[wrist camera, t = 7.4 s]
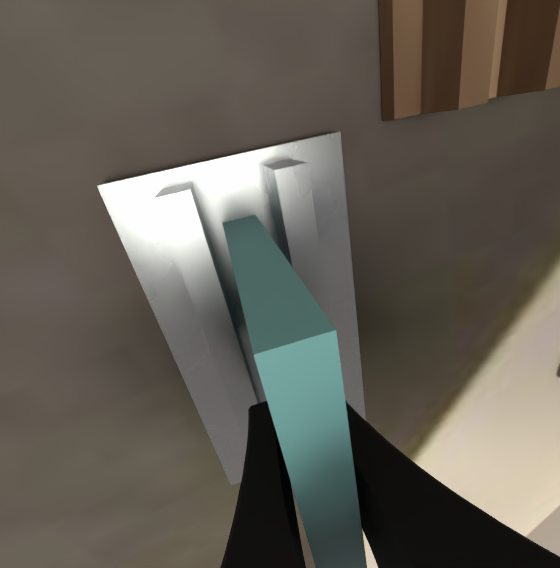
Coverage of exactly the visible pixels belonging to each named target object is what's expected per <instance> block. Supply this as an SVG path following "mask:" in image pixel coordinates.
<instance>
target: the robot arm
mask: <svg viewBox="0 0 560 568" xmlns="http://www.w3.org/2000/svg"><path fill="white" fill-rule="evenodd" d="M345 402H346V410H347V417H348V425H349V433H350V441H351V448H352V456H353V464H354V471H355V479H356V487H357V495H358V502H359V510H360V518H361V525H362V529H363V531H364V533H365V536H366V538H367V540H368V542H369V545H370V547H371V550H372V552H373V555H374V557H375V560H376V563H377V565H378V568H560V557H559V556H557V555H556V554H554V553H552V552H550V551H549V550H547V549H545V548H543V547H541V546H539V545H538V544H536V543H534V542H533V541H531V540H529V539H528V538H526V537H524V536H523V535H521V534H519V533H518V532H516V531H514V530H513V529H511V528H509V527H508V526H506V525H504V524H503V523H501V522H499V521H498V520H496V519H495V518H493V517H492V516H490V515H489V514H487V513H486V512H484V511H482V510H481V509H479V508H478V507H476V506H475V505H473V504H472V503H470V502H468V501H467V500H465V499H464V498H462V497H461V496H459V495H458V494H456V493H455V492H453V491H452V490H451V489H449V488H448V487H446V486H445V485H444V484H442V483H441V482H439V481H438V480H436V479H435V478H434V477H432V476H431V475H430V474H428V473H427V472H426V471H424V470H423V469H422V468H420V467H419V466H418V465H417V464H415V463H414V462H413V461H411V460H410V459H409V458H408V457H406V456H405V455H404V454H403V453H402V452H400V451H399V450H398V449H397V448H396V447H394V446H393V445H392V444H391V443H390V442H388V441H387V440H386V439H385V438H384V437H383V436H382V435H381V434H379V433H378V432H377V431H376V430H375V429H374V428H373V427H372V426H371V425H370V424H369V423H368V422H367V421H365V420H364V419H363V418H362V417H361V416H360V415H359V414H358V413H357V412H356V411H355V410H354V409H353V408H352V407H351V406H350V405H349V404H348V403H347V401H346V400H345ZM221 568H306V566H305V561H304V556H303V551H302V545H301V540H300V534H299V528H298V522H297V517H296V511H295V505H294V499H293V494H292V488H291V482H290V477H289V474H288V471H287V467H286V464H285V460H284V457H283V454H282V450H281V447H280V443H279V440H278V437H277V433H276V430H275V426H274V423H273V420H272V416H271V413H270V409H269V406H268V403H267V401H264V402H261V403H258V404H255V405H252V406H250V408H249V409H248V437H247V447H246V454H245V461H244V468H243V475H242V480H241V485H240V490H239V495H238V500H237V506H236V510H235V515H234V519H233V523H232V527H231V531H230V535H229V539H228V543H227V547H226V551H225V554H224V558H223V561H222V565H221Z"/></svg>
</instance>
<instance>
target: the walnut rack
mask: <svg viewBox="0 0 560 568" xmlns="http://www.w3.org/2000/svg"><path fill="white" fill-rule="evenodd" d="M379 24H380V56H381V87H382V118H383V121H385V120H395V119H399V118H404V117H408V116H413V115H417V114H423V113H431V112H440V111H449V110H457V109H462V108H467V107H471V106H476V105H480V104H485V103H488V99H489V98H494V97H499V96H506V95H513V94H520V93H527V92H534V91H541V90H547V89H552V88H556V87H560V0H379Z"/></svg>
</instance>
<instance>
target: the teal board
mask: <svg viewBox="0 0 560 568" xmlns="http://www.w3.org/2000/svg"><path fill="white" fill-rule="evenodd" d="M222 224H223V228H224V232H225V236H226V241H227V245H228V249H229V253H230V258H231V262H232V266H233V270H234V274H235V279H236V283H237V287H238V291H239V296H240V300H241V304H242V308H243V313H244V317H245V321H246V325H247V330H248V334H249V338H250V342H251V346H252V351H253V355H254V358H255V362H256V365H257V369H258V372H259V375H260V379H261V382H262V386H263V389H264V392H265V396H266V399H267V403H268V406H269V409H270V413H271V416H272V420H273V423H274V426H275V430H276V433H277V437H278V440H279V443H280V447H281V450H282V454H283V457H284V460H285V464H286V467H287V471H288V474H289V477H290V481H291V484H292V487H293V491H294V494H295V498H296V501H297V504H298V508H299V511H300V515H301V518H302V521H303V525H304V528H305V532H306V535H307V538H308V542H309V545H310V549H311V552H312V555H313V559H314V562H315V566H316V568H367V564H366V556H365V549H364V541H363V533H362V525H361V518H360V510H359V502H358V495H357V487H356V479H355V471H354V464H353V456H352V448H351V441H350V433H349V425H348V417H347V410H346V402H345V394H344V387H343V379H342V371H341V363H340V356H339V348H338V340H337V333H336V329H335V327H334V326H333V325H332V323H331V322H330V320H329V319H328V317H327V316H326V315H325V313H324V312H323V310H322V309H321V307H320V306H319V305H318V303H317V302H316V300H315V299H314V297H313V296H312V295H311V293H310V292H309V290H308V289H307V287H306V286H305V285H304V283H303V282H302V280H301V279H300V277H299V276H298V275H297V273H296V272H295V270H294V269H293V267H292V266H291V265H290V263H289V262H288V260H287V259H286V257H285V256H284V255H283V253H282V252H281V250H280V249H279V247H278V246H277V245H276V243H275V242H274V240H273V239H272V237H271V236H270V235H269V233H268V232H267V230H266V229H265V227H264V226H263V225H262V223H261V222H260V220H259V219H258V217H257V216H256V215H252V216H248V217H244V218H240V219H236V220H231V221H227V222H223V223H222Z"/></svg>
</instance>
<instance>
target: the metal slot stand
mask: <svg viewBox="0 0 560 568" xmlns="http://www.w3.org/2000/svg"><path fill="white" fill-rule="evenodd" d="M97 187H98V189H99V192H100V194H101V196H102V198H103V201H104V203H105V205H106V207H107V209H108V212H109V214H110V216H111V218H112V221H113V223H114V225H115V227H116V230H117V232H118V234H119V236H120V238H121V241H122V243H123V245H124V247H125V250H126V252H127V254H128V256H129V259H130V261H131V263H132V265H133V267H134V270H135V272H136V274H137V276H138V279H139V281H140V283H141V285H142V288H143V290H144V292H145V294H146V296H147V299H148V301H149V303H150V305H151V308H152V310H153V312H154V314H155V317H156V319H157V321H158V323H159V325H160V328H161V330H162V332H163V334H164V337H165V339H166V341H167V343H168V346H169V348H170V350H171V352H172V354H173V357H174V359H175V361H176V363H177V366H178V368H179V370H180V372H181V375H182V377H183V379H184V381H185V384H186V386H187V388H188V390H189V392H190V395H191V397H192V399H193V401H194V404H195V406H196V408H197V410H198V413H199V415H200V417H201V419H202V421H203V424H204V426H205V428H206V430H207V433H208V435H209V437H210V439H211V442H212V444H213V446H214V448H215V450H216V453H217V455H218V457H219V459H220V462H221V464H222V466H223V468H224V471H225V473H226V475H227V477H228V479H229V482H230V484H231V485H234V484H236V483H239V482H241V480H242V475H243V468H244V461H245V454H246V447H247V437H248V409H249V408H250V406H252V405H255V404H258V403H261V402H264V401H267V399H266V396H265V392H264V389H263V386H262V382H261V379H260V375H259V372H258V369H257V365H256V362H255V358H254V355H253V351H252V346H251V342H250V338H249V334H248V330H247V325H246V321H245V317H244V313H243V308H242V304H241V300H240V296H239V291H238V287H237V283H236V279H235V274H234V270H233V266H232V262H231V258H230V253H229V249H228V245H227V241H226V236H225V232H224V228H223V224H222V223H223V222H227V221H231V220H236V219H240V218H244V217H248V216H252V215H256V216H257V217H258V219H259V220H260V222H261V223H262V225H263V226H264V227H265V229H266V230H267V232H268V233H269V235H270V236H271V237H272V239H273V240H274V242H275V243H276V245H277V246H278V247H279V249H280V250H281V252H282V253H283V255H284V256H285V257H286V259H287V260H288V262H289V263H290V265H291V266H292V267H293V269H294V270H295V272H296V273H297V275H298V276H299V277H300V279H301V280H302V282H303V283H304V285H305V286H306V287H307V289H308V290H309V292H310V293H311V295H312V296H313V297H314V299H315V300H316V302H317V303H318V305H319V306H320V307H321V309H322V310H323V312H324V313H325V315H326V316H327V317H328V319H329V320H330V322H331V323H332V325H333V326H334V327H335V329H336V333H337V340H338V348H339V356H340V363H341V371H342V379H343V387H344V394H345V400H346V401H347V403H348V404H349V405H350V406H351V407H352V408H353V409H354V410H355V411H356V412H357V413H358V414H359V415H360V416H361V417H362V418H363V419H364V420H365V421H366V415H365V404H364V392H363V381H362V370H361V359H360V347H359V336H358V325H357V314H356V303H355V291H354V280H353V269H352V258H351V247H350V235H349V224H348V213H347V202H346V190H345V179H344V168H343V157H342V146H341V134H340V132H330V133H325V134H321V135H316V136H312V137H307V138H303V139H298V140H294V141H289V142H285V143H280V144H276V145H271V146H267V147H262V148H258V149H253V150H249V151H244V152H240V153H235V154H231V155H226V156H222V157H217V158H213V159H208V160H204V161H199V162H195V163H190V164H185V165H181V166H176V167H172V168H167V169H163V170H158V171H154V172H149V173H145V174H140V175H136V176H131V177H127V178H122V179H118V180H113V181H109V182H104V183H102V184H100V185H98V186H97Z"/></svg>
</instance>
